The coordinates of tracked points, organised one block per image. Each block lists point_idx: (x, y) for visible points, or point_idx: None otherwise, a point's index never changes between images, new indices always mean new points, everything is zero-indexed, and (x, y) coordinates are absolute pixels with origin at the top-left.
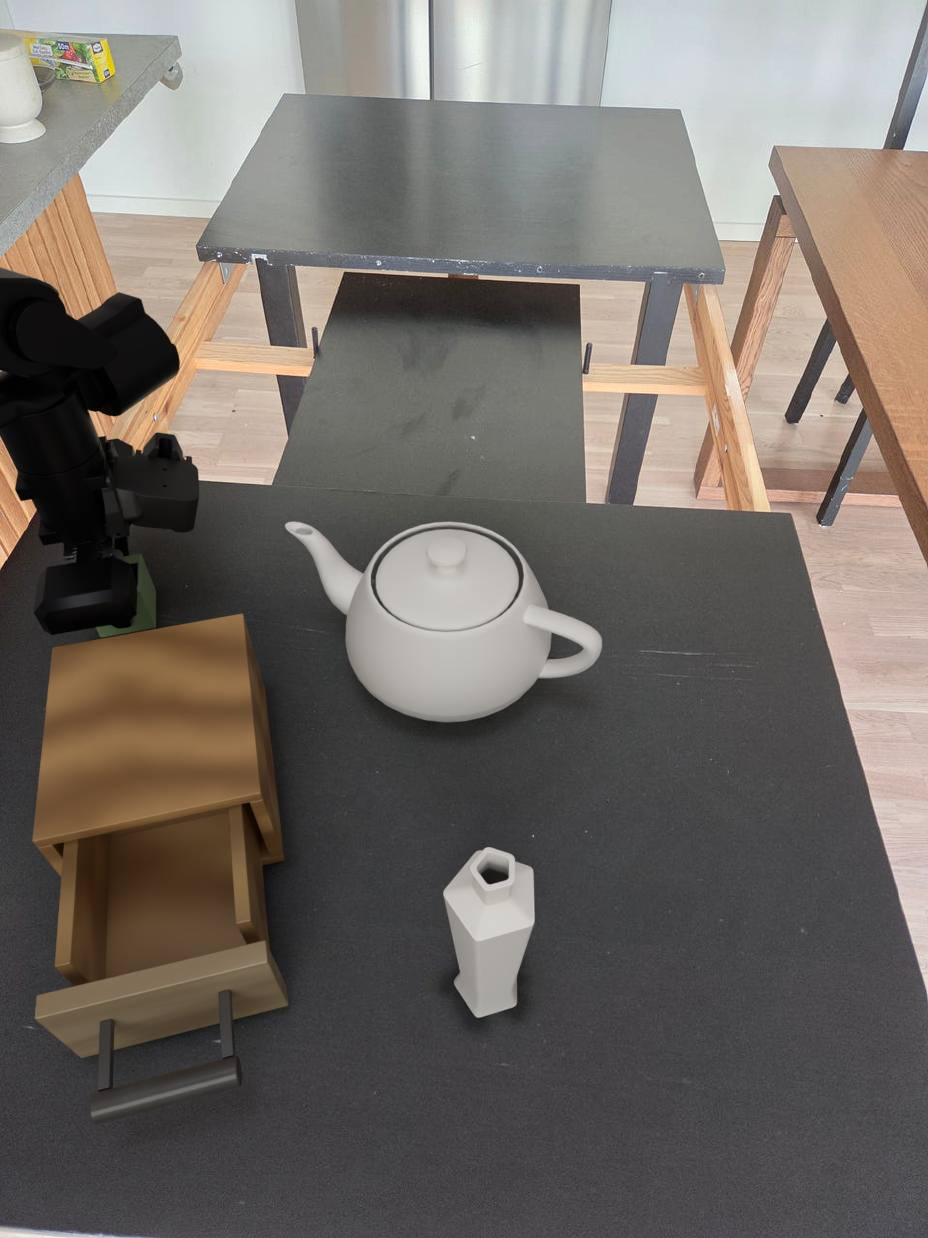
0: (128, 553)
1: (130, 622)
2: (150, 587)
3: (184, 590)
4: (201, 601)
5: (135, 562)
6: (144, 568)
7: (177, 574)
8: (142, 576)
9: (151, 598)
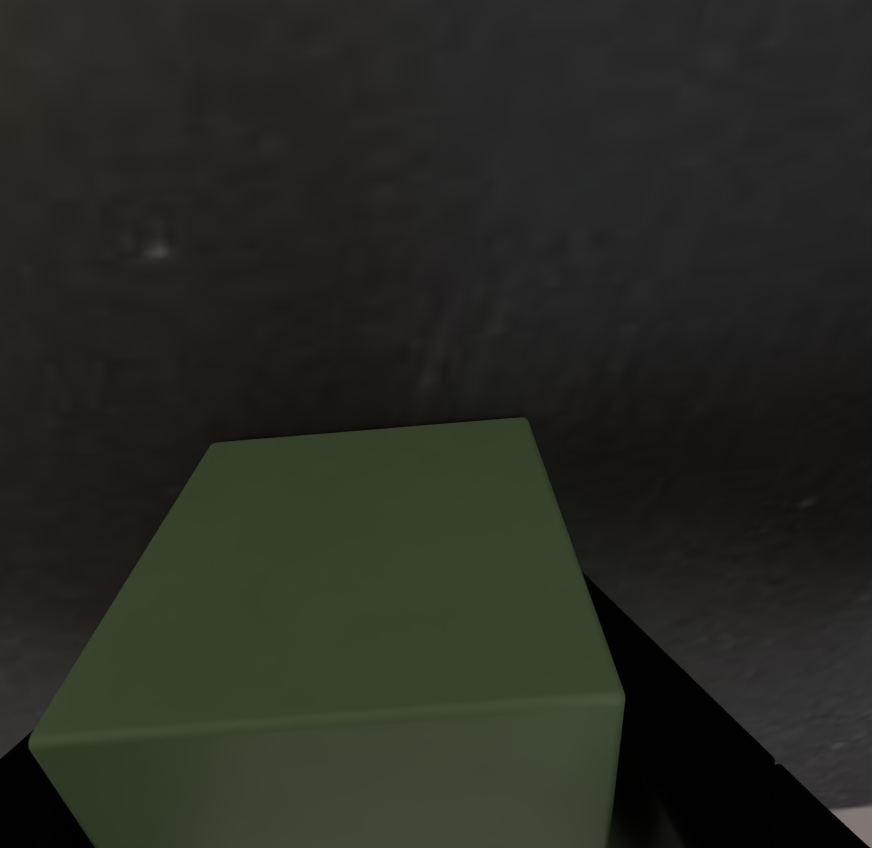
0: (30, 800)
1: (592, 583)
2: (277, 506)
3: (201, 266)
4: (321, 127)
5: (176, 772)
6: (180, 632)
7: (43, 324)
8: (350, 673)
9: (372, 485)
